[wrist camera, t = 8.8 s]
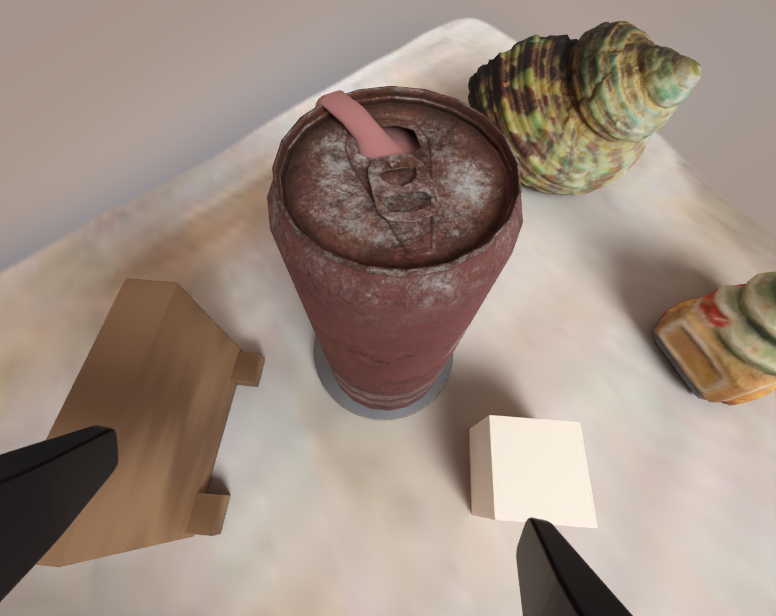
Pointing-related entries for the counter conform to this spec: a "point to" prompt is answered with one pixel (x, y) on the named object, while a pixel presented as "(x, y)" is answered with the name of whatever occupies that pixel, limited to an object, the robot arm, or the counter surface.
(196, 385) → the screen
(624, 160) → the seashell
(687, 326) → the ornament
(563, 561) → the robot arm
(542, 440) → the letter block
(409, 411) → the coaster
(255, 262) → the counter surface
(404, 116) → the can
